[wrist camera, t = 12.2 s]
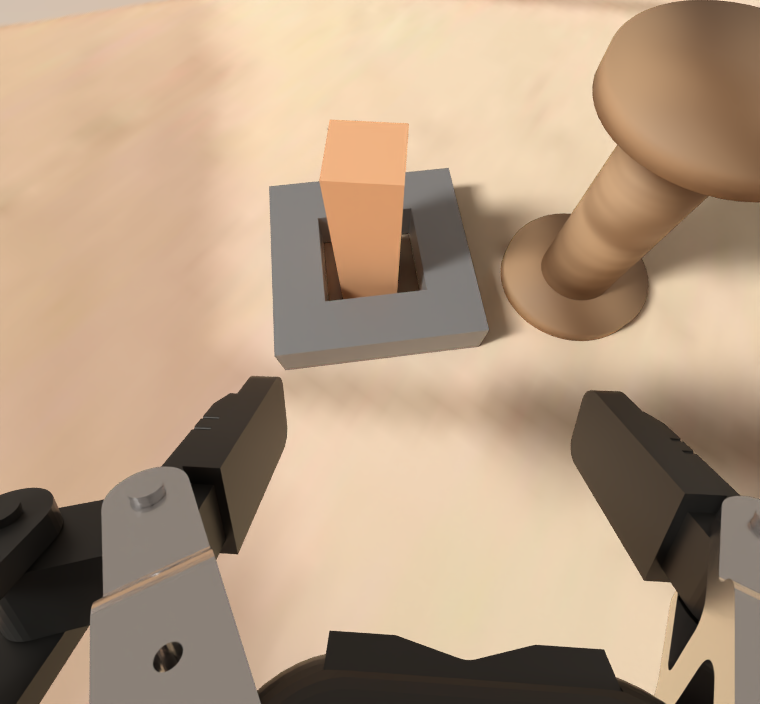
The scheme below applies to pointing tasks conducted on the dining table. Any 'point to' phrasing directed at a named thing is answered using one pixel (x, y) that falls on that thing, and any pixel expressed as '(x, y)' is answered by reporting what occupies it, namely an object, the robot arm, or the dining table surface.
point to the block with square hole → (382, 312)
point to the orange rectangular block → (365, 203)
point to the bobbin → (646, 164)
